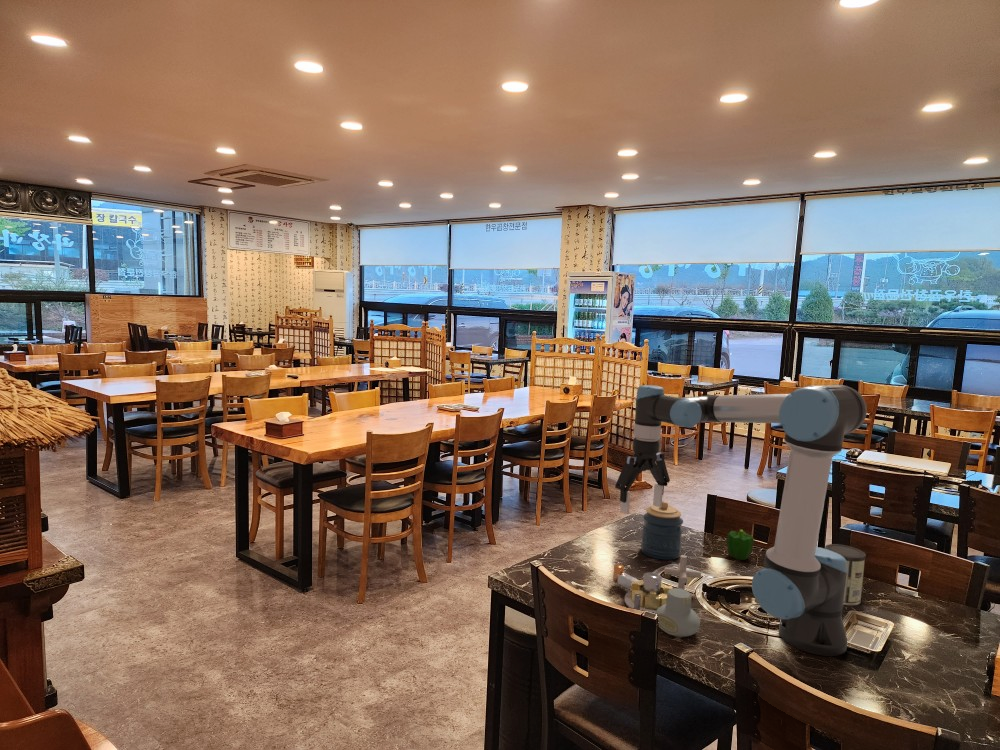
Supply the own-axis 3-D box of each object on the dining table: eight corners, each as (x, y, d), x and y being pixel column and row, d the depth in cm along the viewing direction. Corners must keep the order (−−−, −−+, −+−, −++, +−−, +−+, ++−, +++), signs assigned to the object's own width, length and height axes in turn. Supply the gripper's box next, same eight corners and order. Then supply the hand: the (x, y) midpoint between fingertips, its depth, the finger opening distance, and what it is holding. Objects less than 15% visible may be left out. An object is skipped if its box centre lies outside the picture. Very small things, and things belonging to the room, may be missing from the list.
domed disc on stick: (680, 602, 166) (681, 587, 166) (652, 612, 160) (653, 596, 160) (628, 575, 182) (629, 561, 182) (600, 583, 176) (601, 568, 176)
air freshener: (648, 625, 156) (651, 588, 155) (669, 617, 161) (672, 580, 160) (684, 645, 147) (687, 606, 146) (705, 636, 152) (708, 597, 151)
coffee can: (825, 586, 185) (830, 540, 183) (864, 598, 178) (869, 551, 176) (815, 596, 177) (820, 549, 176) (855, 609, 170) (860, 560, 169)
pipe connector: (701, 599, 172) (704, 565, 171) (664, 594, 174) (667, 560, 173) (697, 584, 182) (699, 551, 181) (662, 579, 184) (664, 547, 183)
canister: (685, 561, 198) (689, 508, 196) (645, 559, 198) (649, 506, 197) (674, 546, 211) (678, 496, 209) (636, 544, 211) (640, 494, 210)
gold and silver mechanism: (688, 609, 166) (690, 580, 165) (632, 628, 154) (635, 598, 153) (648, 588, 178) (650, 561, 177) (594, 605, 166) (596, 576, 165)
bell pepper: (729, 550, 210) (731, 522, 209) (754, 556, 205) (757, 527, 204) (721, 557, 203) (724, 528, 202) (747, 564, 198) (750, 534, 197)
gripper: (665, 432, 188) (660, 500, 190) (605, 439, 174) (600, 511, 177) (685, 437, 182) (679, 507, 184) (624, 444, 168) (619, 519, 170)
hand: (641, 509), depth 180 cm, fingers open, 13 cm apart
